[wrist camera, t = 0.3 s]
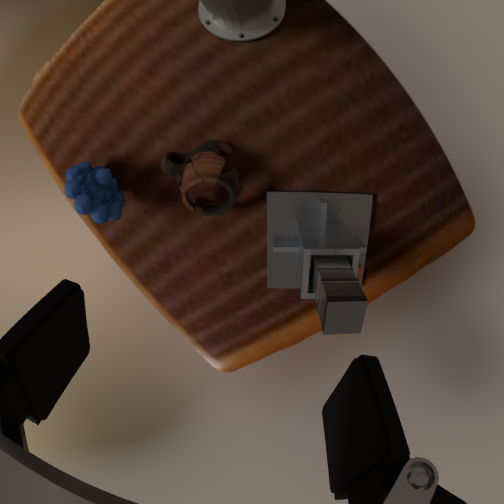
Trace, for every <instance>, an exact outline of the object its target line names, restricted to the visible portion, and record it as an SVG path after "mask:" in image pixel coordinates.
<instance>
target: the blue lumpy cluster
mask: <svg viewBox="0 0 504 504" xmlns="http://www.w3.org/2000/svg"><path fill="white" fill-rule="evenodd" d="M66 179H67V182H66V184H65V188H64V189H65V193H66V195H67V197H68V198H71V199H75V198H76V199H75V203H74V205H75V209H76V211H77V212H78V213H79V214H81V215H86V214H88V213H90V212H91V216H92V219H93V220H94V222H96V223H98V224H103V223H105V222H107V220H108V219H109V220H111V221H116V220H118V219H120V217H121V216H122V209H121V208H122V207H123V206H124V204H125V198H124V195H123V192H121V191H118V182H117V179H116V178H113V177H112V173H111V171H110V169H108V168H104V167H102V166H97V167H94V168H93V169H92V166H91V164H90V162H82V163H80V164H79V165H78V166H73V167H71V168H69V169H68V170H67V173H66Z"/></svg>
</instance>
